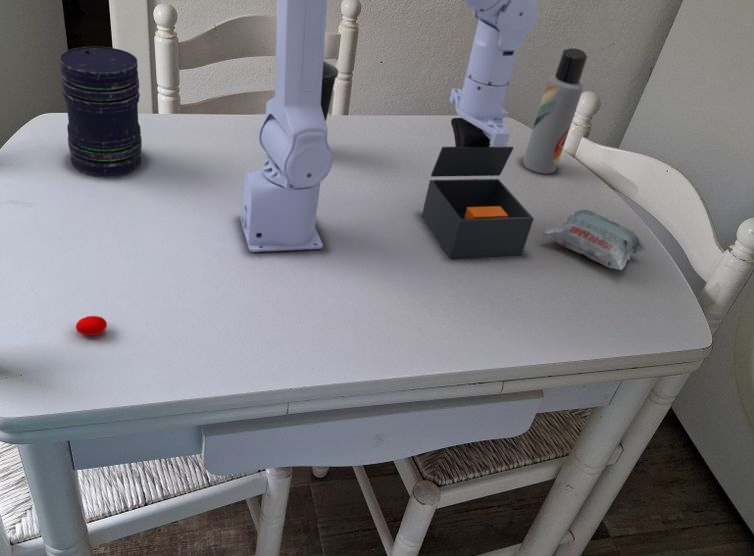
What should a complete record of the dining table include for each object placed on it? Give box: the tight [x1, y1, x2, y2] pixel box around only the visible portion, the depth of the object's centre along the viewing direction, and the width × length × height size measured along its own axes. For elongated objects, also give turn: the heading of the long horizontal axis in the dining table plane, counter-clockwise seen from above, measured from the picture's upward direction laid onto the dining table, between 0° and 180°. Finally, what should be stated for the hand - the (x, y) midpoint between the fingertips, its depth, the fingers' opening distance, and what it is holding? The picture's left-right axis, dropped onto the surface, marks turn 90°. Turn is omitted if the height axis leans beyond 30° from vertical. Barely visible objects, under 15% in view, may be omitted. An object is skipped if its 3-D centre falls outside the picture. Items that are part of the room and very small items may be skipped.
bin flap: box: [430, 146, 514, 178], centre depth 98 cm, size 5×11×1 cm
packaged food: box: [542, 209, 646, 271], centre depth 99 cm, size 9×12×5 cm
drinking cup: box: [321, 60, 339, 123], centre depth 108 cm, size 8×8×20 cm
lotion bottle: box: [522, 47, 588, 175], centre depth 115 cm, size 6×6×20 cm
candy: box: [75, 315, 108, 336], centre depth 72 cm, size 3×2×2 cm, turn 103°
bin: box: [421, 178, 535, 260], centre depth 98 cm, size 11×11×6 cm
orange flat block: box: [464, 206, 508, 219], centre depth 96 cm, size 5×2×5 cm, turn 106°
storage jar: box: [59, 46, 143, 178], centre depth 98 cm, size 10×10×15 cm
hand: (463, 171), depth 100 cm, fingers closed, pressing on bin flap
